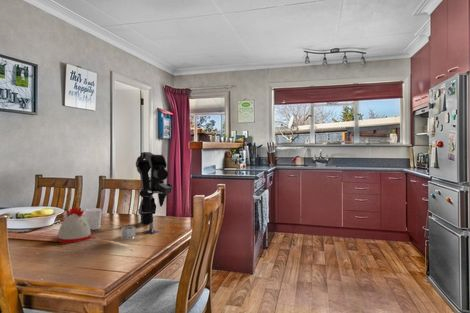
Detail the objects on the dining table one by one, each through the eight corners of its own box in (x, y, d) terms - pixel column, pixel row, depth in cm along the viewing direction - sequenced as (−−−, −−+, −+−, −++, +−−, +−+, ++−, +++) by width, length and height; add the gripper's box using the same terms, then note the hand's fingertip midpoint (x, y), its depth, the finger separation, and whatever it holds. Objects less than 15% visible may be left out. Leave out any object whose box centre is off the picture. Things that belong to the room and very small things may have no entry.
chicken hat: (76, 244, 135) (77, 210, 134) (50, 241, 137) (51, 208, 137) (96, 235, 148) (97, 205, 148) (72, 233, 151) (73, 203, 151)
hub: (117, 239, 143) (117, 229, 143) (128, 236, 149) (128, 226, 149) (128, 242, 140) (128, 231, 140) (139, 238, 146) (139, 228, 146)
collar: (120, 236, 145) (120, 227, 145) (133, 234, 148) (133, 225, 148) (122, 239, 140) (122, 230, 140) (136, 237, 143) (136, 228, 143)
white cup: (97, 230, 158) (97, 211, 158) (82, 229, 158) (82, 210, 158) (103, 226, 166) (104, 208, 165) (89, 226, 166) (90, 208, 166)
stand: (140, 234, 153) (141, 223, 153) (150, 231, 159) (150, 221, 159) (151, 236, 150) (151, 225, 150) (160, 233, 156) (161, 222, 156)
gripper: (156, 180, 148) (155, 212, 148) (179, 178, 164) (178, 206, 165) (139, 179, 152) (138, 209, 153) (163, 176, 169) (162, 204, 170)
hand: (155, 207), depth 160 cm, fingers open, 9 cm apart
